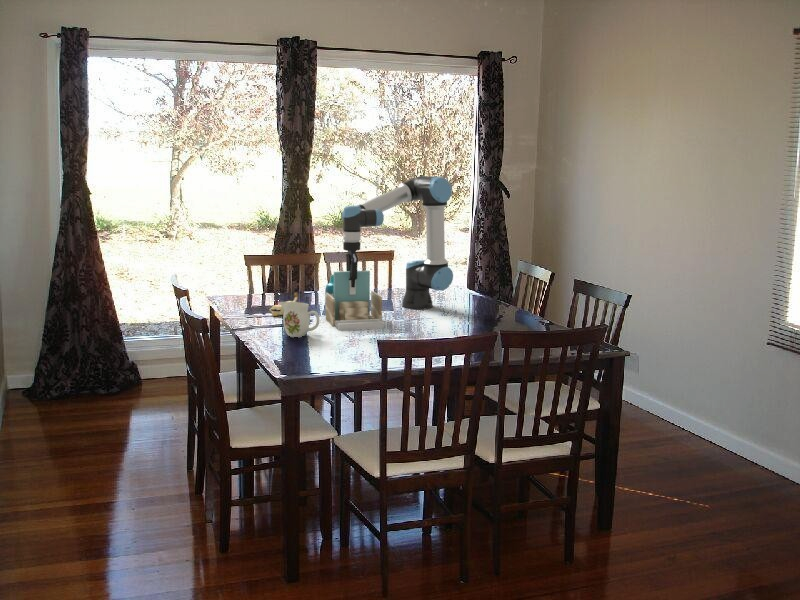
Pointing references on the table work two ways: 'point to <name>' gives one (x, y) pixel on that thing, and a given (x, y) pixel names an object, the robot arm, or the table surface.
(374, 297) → the rack
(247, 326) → the table surface
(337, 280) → the teal rectangular panel
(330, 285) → the vase
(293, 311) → the white floral mug
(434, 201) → the robot arm
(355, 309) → the offcut short
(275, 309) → the cat figure
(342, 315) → the offcut tall
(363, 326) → the stand
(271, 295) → the table surface
